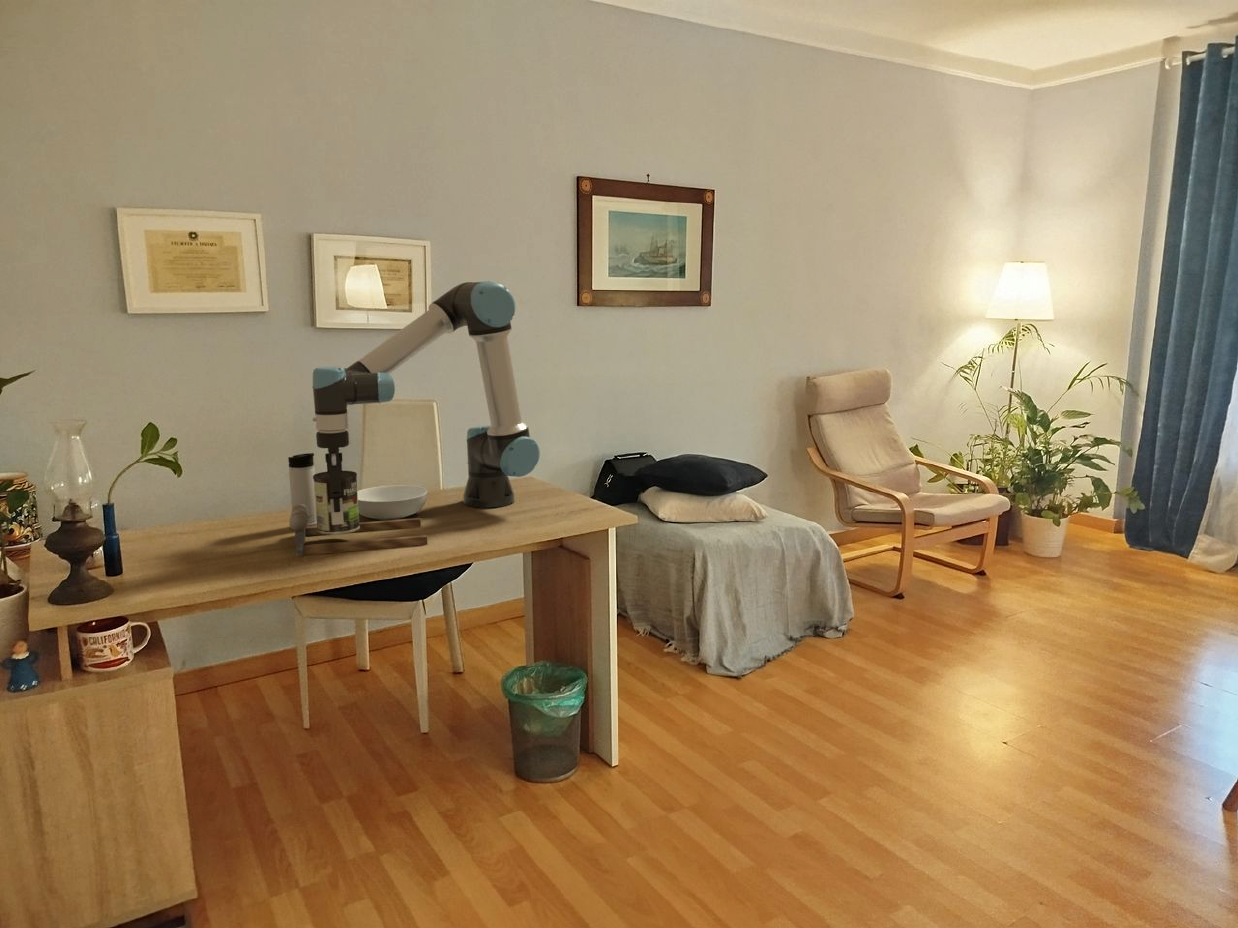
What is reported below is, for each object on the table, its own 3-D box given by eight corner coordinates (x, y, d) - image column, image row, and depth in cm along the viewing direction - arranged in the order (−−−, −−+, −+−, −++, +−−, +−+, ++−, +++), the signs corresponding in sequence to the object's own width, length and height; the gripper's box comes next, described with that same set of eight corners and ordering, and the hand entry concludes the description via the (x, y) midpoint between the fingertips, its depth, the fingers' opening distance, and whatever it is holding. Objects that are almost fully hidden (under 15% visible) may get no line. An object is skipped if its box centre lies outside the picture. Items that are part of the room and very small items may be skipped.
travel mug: (311, 530, 223) (305, 455, 219) (288, 529, 225) (282, 454, 221) (324, 524, 229) (319, 451, 226) (301, 523, 231) (296, 450, 227)
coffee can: (367, 525, 217) (364, 470, 214) (347, 536, 207) (344, 479, 204) (329, 523, 219) (326, 469, 216) (308, 533, 209) (304, 477, 206)
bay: (420, 525, 229) (418, 492, 227) (427, 544, 211) (425, 509, 209) (294, 535, 219) (291, 501, 217) (290, 556, 201) (287, 519, 200)
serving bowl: (426, 505, 251) (425, 482, 250) (430, 523, 231) (429, 498, 230) (352, 510, 246) (351, 486, 244) (350, 528, 226) (349, 503, 224)
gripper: (316, 424, 218) (322, 509, 222) (315, 438, 196) (321, 531, 201) (347, 423, 220) (352, 507, 224) (349, 436, 199) (354, 529, 203)
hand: (337, 518), depth 212 cm, fingers closed on coffee can, 10 cm apart
